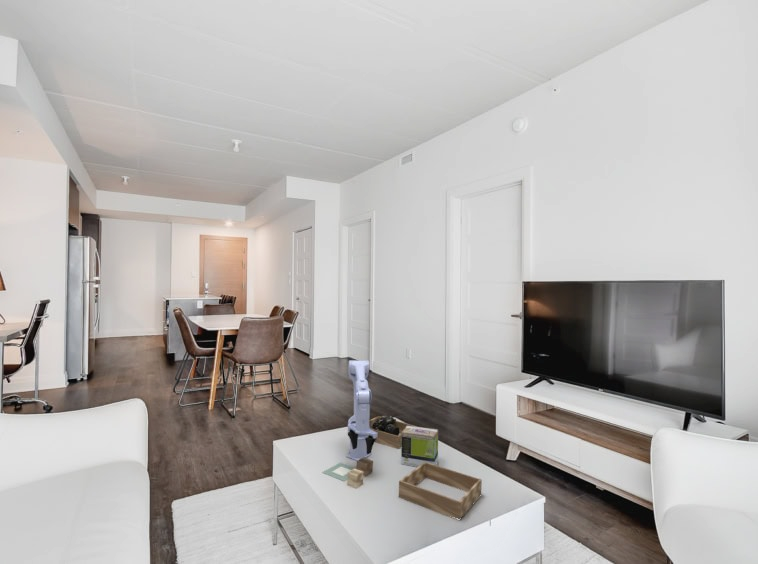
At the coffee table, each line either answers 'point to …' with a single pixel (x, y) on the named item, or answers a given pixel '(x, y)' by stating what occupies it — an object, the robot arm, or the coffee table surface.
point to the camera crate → (389, 438)
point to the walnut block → (365, 466)
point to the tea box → (419, 446)
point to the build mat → (339, 471)
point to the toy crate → (436, 500)
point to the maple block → (355, 478)
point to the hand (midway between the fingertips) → (361, 450)
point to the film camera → (386, 425)
